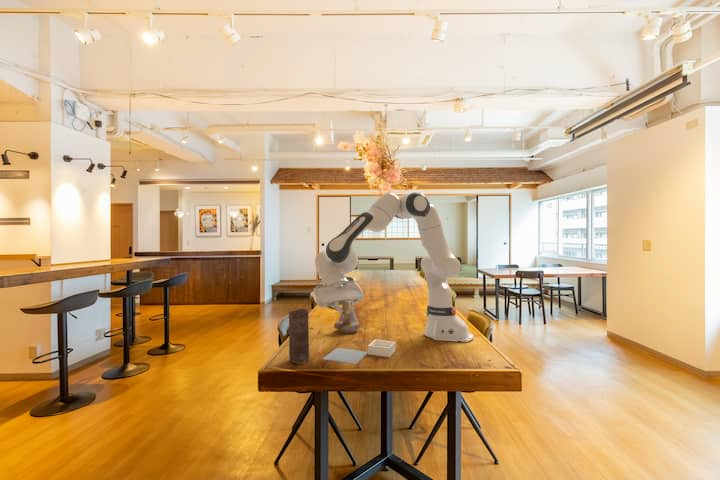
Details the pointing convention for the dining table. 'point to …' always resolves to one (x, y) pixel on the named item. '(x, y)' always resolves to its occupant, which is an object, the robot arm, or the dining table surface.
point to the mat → (345, 355)
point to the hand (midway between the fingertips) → (347, 312)
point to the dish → (381, 348)
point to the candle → (298, 336)
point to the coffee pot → (353, 318)
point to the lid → (346, 318)
